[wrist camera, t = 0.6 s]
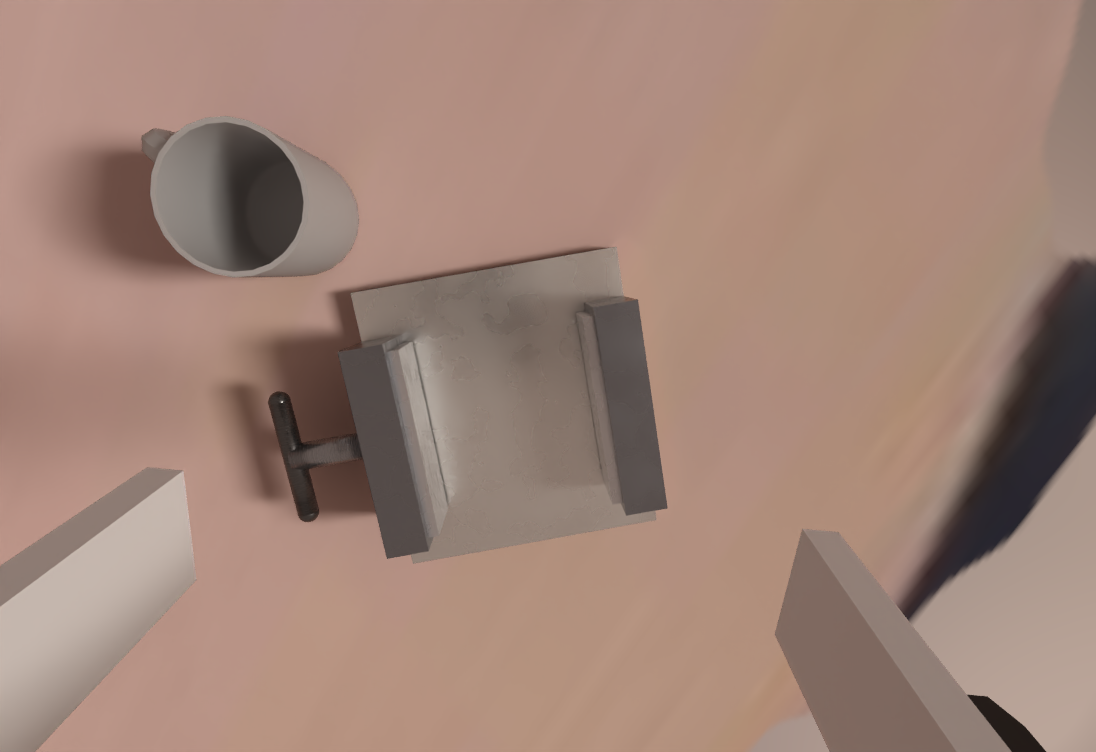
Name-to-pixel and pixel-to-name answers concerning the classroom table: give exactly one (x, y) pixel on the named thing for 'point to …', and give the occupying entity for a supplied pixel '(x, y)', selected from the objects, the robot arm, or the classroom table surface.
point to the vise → (494, 409)
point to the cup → (248, 200)
